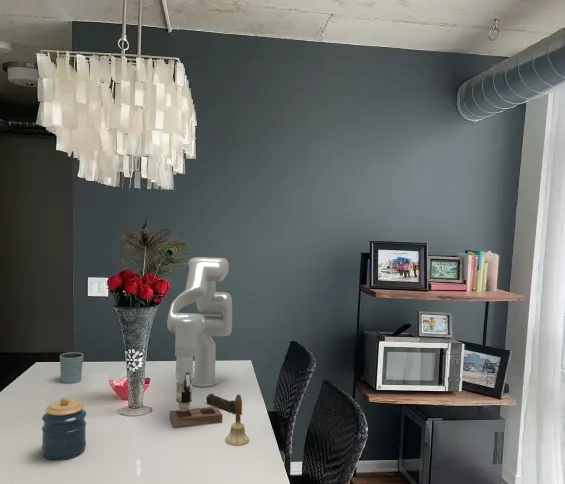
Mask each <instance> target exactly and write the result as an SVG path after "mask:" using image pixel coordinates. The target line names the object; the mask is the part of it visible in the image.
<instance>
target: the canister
mask: <svg viewBox="0 0 565 484" xmlns="http://www.w3.org/2000/svg"><path fill="white" fill-rule="evenodd" d="M84 408H85V407H84V404H83V403H81V402H79V401H78V400H76V399H70V397H68V396H63V397H62V398H60V400H57V401H55V402H52V403H51V404H50V405H48V406H47V407H46V408H45V409H44V410H45V413H44V414H43V415H42V417H41V420H42V421H43V425H42V427H41V431H42V439H41V440H42V443H41V452H42V457H43V458H45V459H48V460H53V461H62V460H68V459H72V458H76V457H78V456H79V455H81V454H83V453H84V452H85V449H86V445H87V441H86V425H87V421H86V419H85V417H86V416H87V412H86V410H85V409H84Z"/></svg>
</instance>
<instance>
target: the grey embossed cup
mask: <svg viewBox="0 0 565 484" xmlns="http://www.w3.org/2000/svg"><path fill="white" fill-rule="evenodd" d="M83 363H84V353H83V352H78V351H77V352H76V351H75V352H74V351H72V352H71V351H70V352H65V353H64V352H63V353H61V354H60V355H59V366H60V369H59V370H60V383H61V384H65V385H66V384H67V385H70V384H71V385H72V384H77V383H80V382H81V380H82V375H83V374H82V373H83V372H82V371H83V365H84V364H83Z"/></svg>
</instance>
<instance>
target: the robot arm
mask: <svg viewBox="0 0 565 484" xmlns="http://www.w3.org/2000/svg"><path fill="white" fill-rule="evenodd" d="M188 269H189V270H188V274H187V275H188V276H187V279H186V285H185V290H184V291H183V292H181V293H179V295H177V296H176V298H175V299H173V301H172V302H171V304H170V307H169V311H168V315H167V321H166V325H167V327H166V328H167V330H168V331H169V332H171V333H175V340H174V341H175V343H174V356H175V357H176V361H175V376H174V377H175V380H176V383H177V382H178V383H179V384H180V385H181V384H182V394H181V402H182V403H188V402H190V396H191V390H190V384H191V383H192V386H193V387H194V386H195V387H197V388H208V387H214V386H217V385H218V383H219V379H218V378H216V358H217V356H216V353H217V346H216V342H215V340H214V339H213V337H227V336H230V335H231V333H232V329H233V298H232V295H231V294H230V293H228V292H224V291H222V292H221V291H216V289H217V288H216V286H217V285H216V284H217V283H216V282H222V281H223V280H225V279H226V277H227V276H228V274H229V269H230V266H229V261H228V260H227V259H226V258H225V257H208V256H207V257H205V256H203V257H202V256H201V257H200V256H199V257H192V258H190V259H189V261H188ZM194 303H196V307H197V311H198V312H200V313H189V312H187V313H186V312H180V310H182V309H183V308H184V307H187V306H188V305H191V304H194ZM201 313H207V314H201ZM209 313H210V314H209ZM184 382H186V383H184ZM184 385H186V386H185V387H184ZM190 403H191V402H190Z"/></svg>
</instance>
